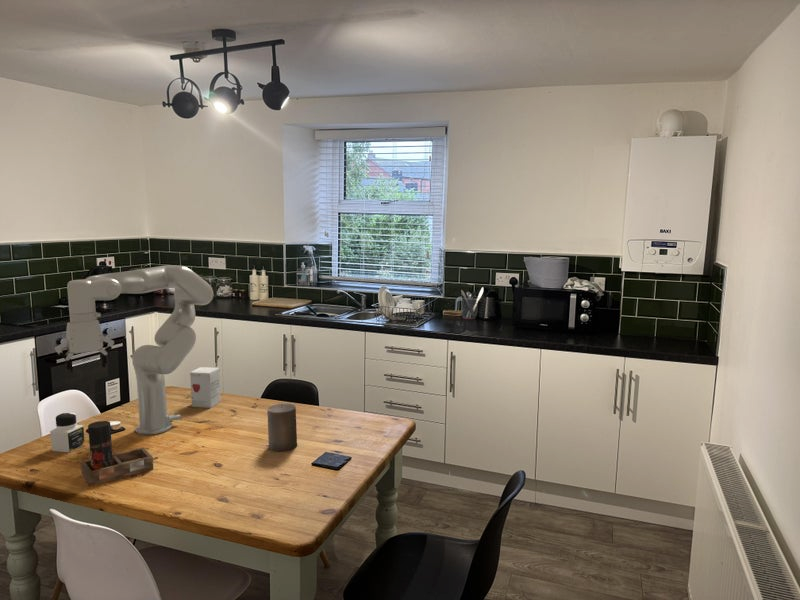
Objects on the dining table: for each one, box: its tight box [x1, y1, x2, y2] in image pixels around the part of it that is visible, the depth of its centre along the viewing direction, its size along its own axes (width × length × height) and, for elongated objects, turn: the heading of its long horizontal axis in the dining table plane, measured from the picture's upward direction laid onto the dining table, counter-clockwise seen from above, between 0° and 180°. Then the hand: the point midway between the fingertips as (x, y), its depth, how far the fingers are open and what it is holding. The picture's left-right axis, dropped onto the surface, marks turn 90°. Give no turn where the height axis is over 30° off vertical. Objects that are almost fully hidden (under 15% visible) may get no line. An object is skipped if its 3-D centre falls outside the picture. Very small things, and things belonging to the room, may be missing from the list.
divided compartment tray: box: [80, 446, 154, 487], centre depth 177 cm, size 18×10×4 cm, turn 130°
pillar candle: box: [266, 403, 298, 452], centre depth 197 cm, size 10×10×15 cm
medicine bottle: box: [49, 411, 86, 453], centre depth 195 cm, size 7×7×12 cm
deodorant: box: [87, 420, 114, 471], centre depth 174 cm, size 6×6×15 cm
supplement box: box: [189, 366, 222, 409], centre depth 242 cm, size 9×9×15 cm
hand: (87, 368), depth 190 cm, fingers open, 9 cm apart
